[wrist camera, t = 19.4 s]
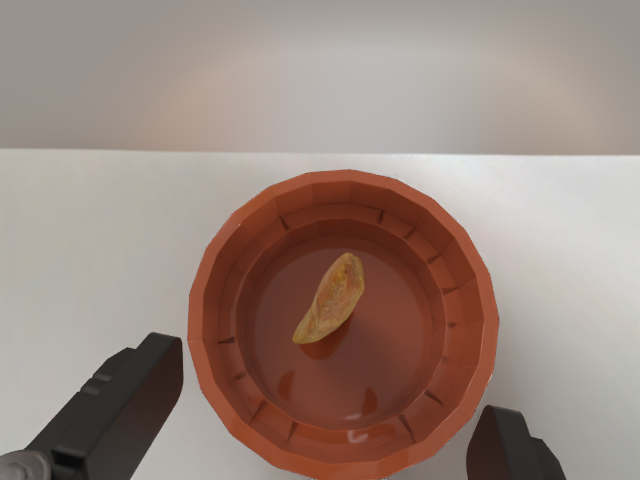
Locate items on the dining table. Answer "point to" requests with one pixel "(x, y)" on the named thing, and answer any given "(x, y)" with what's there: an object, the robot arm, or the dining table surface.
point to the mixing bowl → (343, 327)
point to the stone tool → (332, 300)
